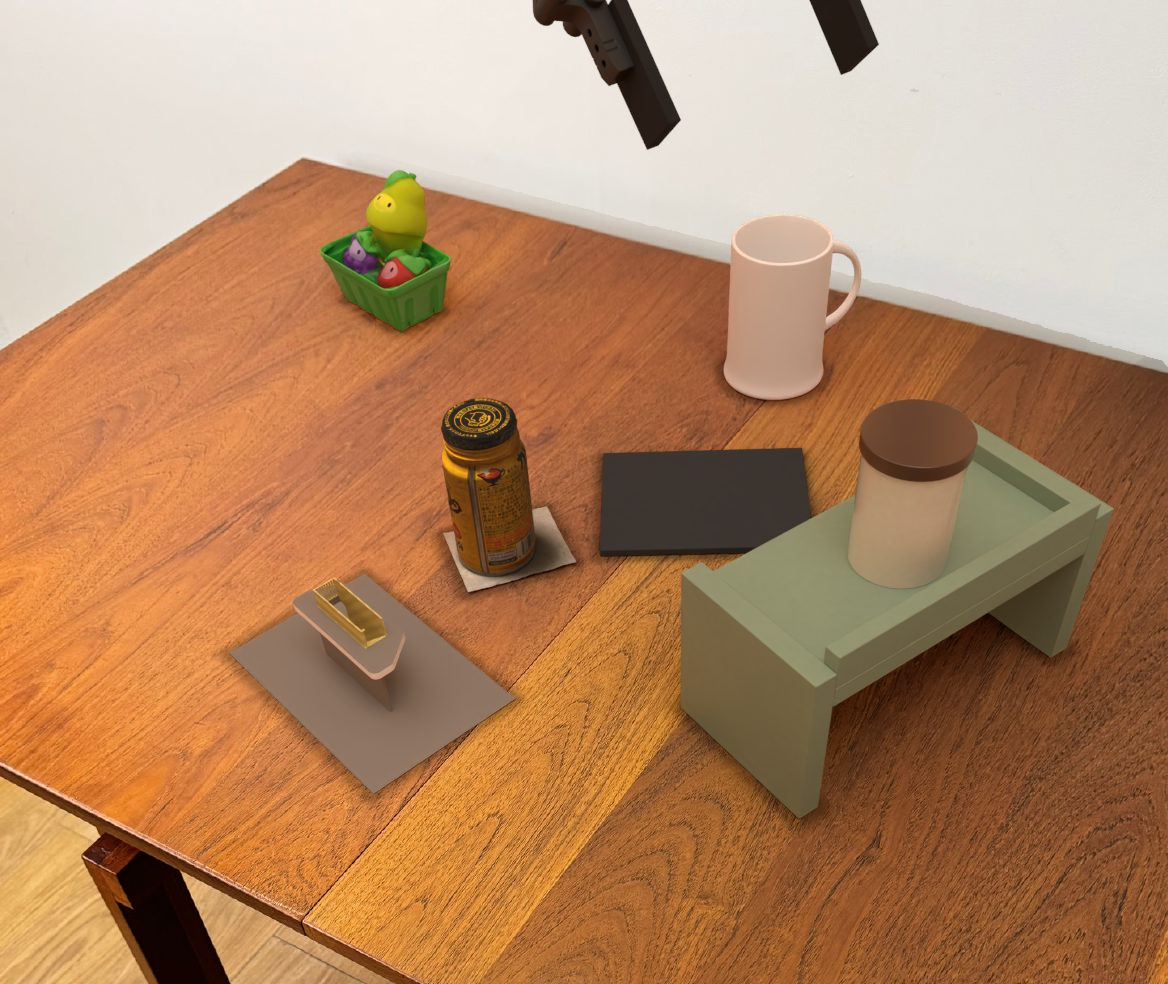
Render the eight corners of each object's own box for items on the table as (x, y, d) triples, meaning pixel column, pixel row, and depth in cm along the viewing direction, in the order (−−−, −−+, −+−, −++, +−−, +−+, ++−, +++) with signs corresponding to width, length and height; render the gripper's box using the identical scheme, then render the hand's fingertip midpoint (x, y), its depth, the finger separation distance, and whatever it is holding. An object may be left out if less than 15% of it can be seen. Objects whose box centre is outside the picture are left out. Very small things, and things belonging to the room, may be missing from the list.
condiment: (443, 535, 97) (418, 401, 88) (547, 508, 99) (533, 373, 89) (468, 594, 93) (445, 460, 83) (576, 565, 94) (566, 430, 85)
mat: (801, 453, 101) (802, 447, 101) (814, 551, 94) (814, 545, 93) (603, 458, 102) (603, 452, 102) (600, 556, 95) (599, 550, 94)
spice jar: (942, 520, 79) (968, 396, 72) (958, 590, 75) (987, 466, 68) (839, 523, 79) (855, 400, 72) (849, 592, 75) (867, 469, 68)
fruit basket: (326, 299, 120) (298, 181, 111) (399, 263, 124) (378, 146, 115) (398, 344, 115) (375, 223, 106) (472, 305, 118) (456, 185, 109)
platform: (364, 573, 95) (347, 504, 90) (515, 698, 86) (505, 629, 81) (229, 653, 90) (202, 584, 85) (373, 794, 81) (353, 726, 76)
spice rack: (939, 557, 92) (972, 402, 82) (1066, 648, 86) (1120, 491, 76) (679, 707, 85) (680, 556, 74) (799, 819, 78) (817, 671, 68)
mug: (835, 329, 112) (850, 196, 103) (874, 381, 107) (893, 246, 98) (710, 355, 111) (713, 223, 101) (743, 409, 105) (750, 274, 96)
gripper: (743, -299, 71) (894, 67, 75) (357, -203, 63) (548, 202, 66) (814, -418, 64) (977, -8, 68) (391, -328, 56) (602, 133, 59)
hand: (765, 97), depth 67 cm, fingers open, 13 cm apart
